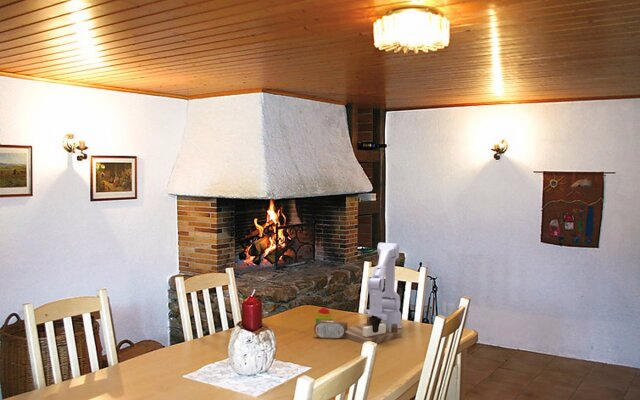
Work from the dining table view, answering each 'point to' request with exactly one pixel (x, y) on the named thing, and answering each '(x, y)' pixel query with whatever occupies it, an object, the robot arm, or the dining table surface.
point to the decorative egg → (323, 315)
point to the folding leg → (382, 329)
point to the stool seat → (357, 335)
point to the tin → (330, 329)
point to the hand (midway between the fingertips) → (375, 332)
